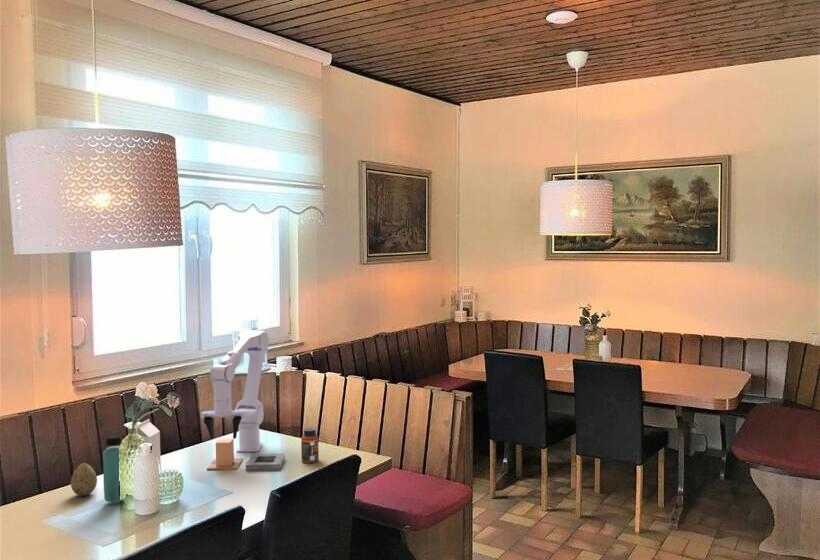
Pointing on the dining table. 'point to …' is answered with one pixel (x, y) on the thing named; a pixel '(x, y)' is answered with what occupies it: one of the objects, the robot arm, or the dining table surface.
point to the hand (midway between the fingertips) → (223, 438)
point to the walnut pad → (232, 467)
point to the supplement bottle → (309, 446)
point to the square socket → (265, 462)
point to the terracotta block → (225, 452)
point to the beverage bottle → (111, 469)
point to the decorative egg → (83, 480)
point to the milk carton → (151, 437)
